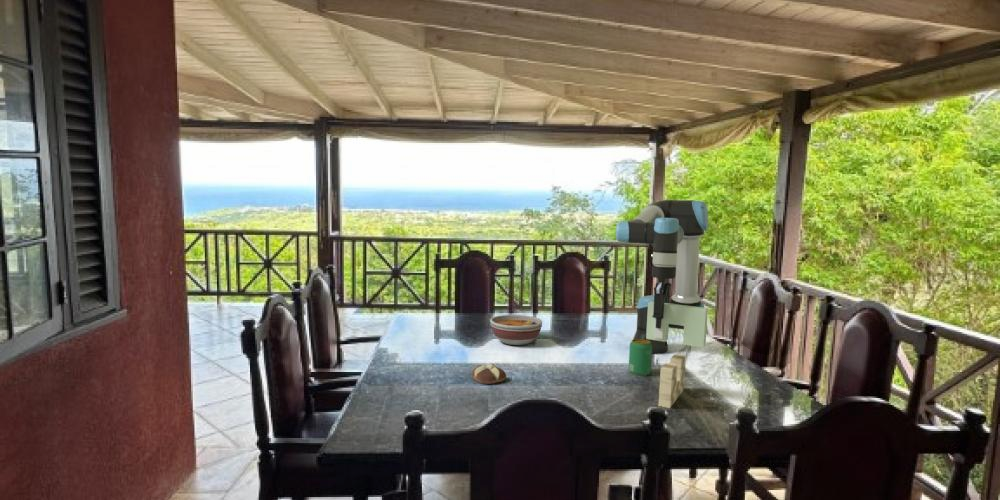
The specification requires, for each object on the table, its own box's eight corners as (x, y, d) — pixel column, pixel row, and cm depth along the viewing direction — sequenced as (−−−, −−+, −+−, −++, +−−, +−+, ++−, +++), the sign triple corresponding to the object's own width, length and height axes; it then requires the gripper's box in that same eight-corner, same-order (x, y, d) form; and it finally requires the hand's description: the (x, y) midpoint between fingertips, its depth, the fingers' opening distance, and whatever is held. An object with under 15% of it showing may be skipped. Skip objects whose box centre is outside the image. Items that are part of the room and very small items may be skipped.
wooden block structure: (673, 387, 188) (675, 353, 187) (683, 389, 186) (685, 355, 185) (658, 405, 171) (660, 368, 169) (669, 408, 169) (672, 370, 168)
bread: (468, 376, 194) (468, 363, 193) (497, 373, 198) (498, 360, 198) (479, 387, 183) (479, 372, 183) (510, 383, 188) (510, 369, 187)
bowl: (550, 341, 245) (551, 319, 244) (525, 352, 225) (525, 328, 224) (507, 333, 257) (507, 312, 256) (479, 343, 237) (480, 320, 236)
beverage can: (635, 368, 209) (637, 337, 207) (654, 373, 203) (656, 341, 202) (624, 372, 203) (625, 340, 202) (643, 377, 197) (645, 345, 196)
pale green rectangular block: (646, 338, 180) (648, 302, 179) (648, 336, 183) (650, 301, 182) (703, 347, 171) (706, 309, 170) (705, 345, 174) (708, 308, 173)
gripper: (659, 262, 186) (655, 330, 188) (645, 266, 172) (641, 339, 174) (681, 264, 182) (677, 333, 185) (669, 268, 168) (665, 343, 170)
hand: (659, 336), depth 179 cm, fingers closed on pale green rectangular block, 3 cm apart
